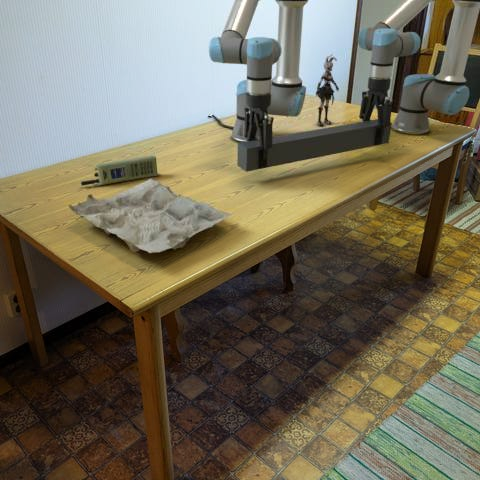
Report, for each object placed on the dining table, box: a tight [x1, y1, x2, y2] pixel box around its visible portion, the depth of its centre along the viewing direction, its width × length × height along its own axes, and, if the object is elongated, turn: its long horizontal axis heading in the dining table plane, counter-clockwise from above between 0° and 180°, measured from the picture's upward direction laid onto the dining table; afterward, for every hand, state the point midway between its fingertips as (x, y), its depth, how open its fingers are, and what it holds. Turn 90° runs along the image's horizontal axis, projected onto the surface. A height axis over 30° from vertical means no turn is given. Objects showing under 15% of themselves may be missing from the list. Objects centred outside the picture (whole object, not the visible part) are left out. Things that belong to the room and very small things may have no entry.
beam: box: [236, 118, 393, 173], centre depth 174 cm, size 61×6×8 cm, turn 119°
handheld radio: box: [80, 155, 159, 187], centre depth 164 cm, size 7×3×25 cm
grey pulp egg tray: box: [68, 178, 232, 254], centre depth 138 cm, size 38×6×30 cm
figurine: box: [315, 53, 340, 127], centre depth 218 cm, size 15×6×30 cm, turn 132°
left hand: (257, 163), depth 165 cm, fingers closed on beam, 6 cm apart
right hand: (371, 141), depth 186 cm, fingers closed on beam, 6 cm apart
